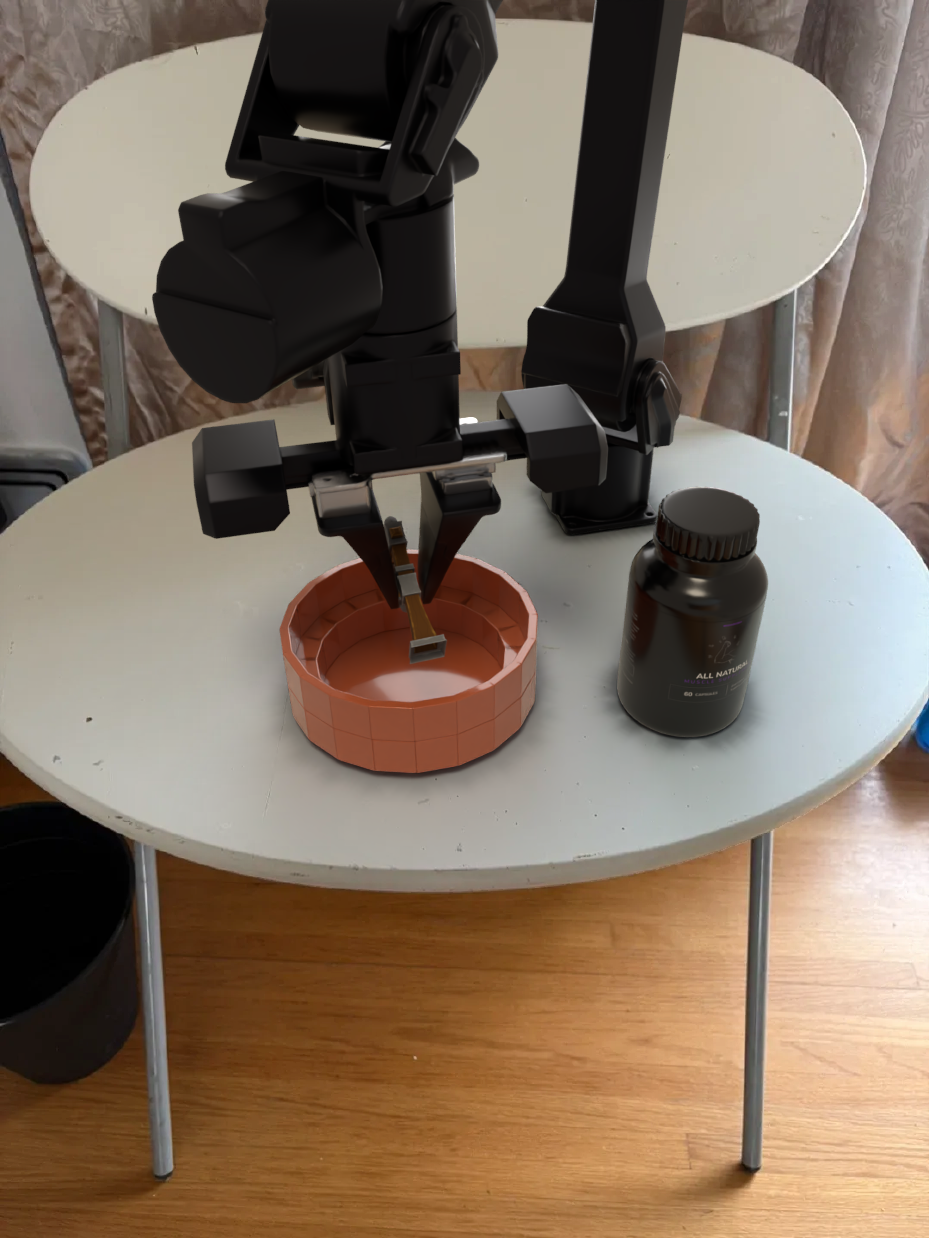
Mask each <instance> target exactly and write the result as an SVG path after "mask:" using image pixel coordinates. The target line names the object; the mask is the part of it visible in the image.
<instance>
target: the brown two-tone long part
mask: <svg viewBox="0 0 929 1238" xmlns="http://www.w3.org/2000/svg"><path fill="white" fill-rule="evenodd" d="M383 525H384V530H385V534H386V538H387V543H388V547H389V551H390V556H391V560H392V565H393V569H394V573H395V578H396V582H397V586H398V591H399V607H398V608H401V610H402V611H403V612H406V613H407V614H408V619H409V624H410V629H411V634H412V640H413V641H410V647H409V658H410V664H413V663H418V662H422V661H427V660H432V659H436V658H441V657H445V650H446V643H447V640H446V639H445V637H444V634H442V635H438V636H437V635H436V633H435V631H434V629H433V628H432V626H431V623H430V621H429V619H428V617H427V614H426V612H425V610H424V608H423V605H422V602H421V591H420V589H419V586H418V582H417V579H416V572H415V573H414V571H415V568H414V566H413V563H412V564H410V561H409V557H408V554H407V549H408V540H407V538H406V534H405V531H404V527H403V520H397V518H396V517H395V516H393V515H388V516H387V517H386V518H385V519H384V521H383Z"/></svg>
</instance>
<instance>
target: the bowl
mask: <svg viewBox="0 0 929 1238" xmlns="http://www.w3.org/2000/svg"><path fill="white" fill-rule="evenodd" d="M406 550H407V554H408V557H409V561H410V564H412V563H413V566H414V568H415V571H414V573H415V572H416V579H417V582H418V586H419V581H418V549H412V548H407V549H406ZM421 602H422V599H421ZM422 605H423V608H424V610H425V612H426V614H427V617H428V619H429V621H430V623H431V626H432V628H433V629H434V631H435V633H436V635H437V636H438V635H442V634H444V637H445V639H446V640H447V643H446V650H445V657H441V658H436V659H432V660H427V661H422V662H418V663H413V664H410V658H409V647H410V641H413V640H412V634H411V629H410V624H409V619H408V614H407V613H406V612H403V611H402V610H401V608H397V609H391V608H390V606H389V605H388V603H387V601H386V599H385V597H384V596H383V594H382V592H381V590H380V588H379V587H378V585H377V583H376V581H375V579H374V578H373V576H372V574H371V572H370V570H369V569H368V567H367V566H366V564H365V563H364V562H363V561H362V559H361V558H360V557H358V558H355V559H352V560H348V561H346V562H343V563H341V564H337V565H335V566H333V567H332V568H330V569H328V570H327V571H324V572H323V573H322V574H320V575H319V576H317V577H314V579H312V580H310V581H309V582H307V583H306V584H305V586H304V587H303V588H302V589H301V590H300V591H299V592H298V593H297V595H296V596H294V598H292V600H290V601H289V603H288V604H287V608H286V610H285V612H284V615H283V618H282V620H281V623H280V626H279V637H280V644H281V651H282V657H283V664H284V670H285V676H286V682H287V686H288V695H289V700H290V707H291V713H292V717H293V719H294V720H295V722H296V724H298V726H299V728H300V729H301V730H302V731H303V734H304V735H305V736H306V738H307V739H308V741H310V742H311V743H312V744H314V745H315V746H317V747H319V748H320V749H322V750H323V751H324V752H326V753H327V754H329V755H331V756H332V757H333V758H335V759H337V760H338V761H341V762H345V763H347V764H351V765H354V766H356V767H361V768H364V769H367V770H370V771H374V772H375V771H376V772H391V773H406V774H409V773H410V774H416V773H417V774H419V773H425V772H431V771H436V770H442V769H443V770H444V769H448V768H453V767H459V766H462V765H464V764H466V763H469V762H471V761H473V760H476V759H478V758H480V757H482V756H484V755H486V754H490V753H491V752H494V751H495V750H496V749H497V748H499V747H500V746H501V745H502V744H503V743H504V742H506V741H507V740H508V739H510V737H512V736H513V735H514V734H515V733H516V732H517V731H519V730H520V729H521V727H522V725H523V724H524V722H525V721H526V718H527V716H528V715H529V713H530V711H531V710H532V707H533V706H534V704H535V702H536V688H537V687H536V685H537V684H536V683H537V662H538V661H537V660H538V631H539V630H538V629H539V628H538V627H539V626H538V625H539V613H538V612H537V610H536V607H535V605H534V603H533V601H532V598H531V597H530V594H529V592H528V591H527V589H526V588H525V587H523V586H522V585H521V584H520V583H519V582H518V581H517V580H515V579H514V578H513V577H512V576H511V575H510V574H509V573H508V572H506V571H505V570H502V569H501V568H498V567H496V566H494V565H492V564H490V563H489V562H485V561H484V560H482V559H479V558H477V557H473V556H468V555H465V554H460V553H457V554H456V555H455V557H454V559H453V561H452V562H451V565H450V567H449V568H448V570H447V572H446V574H445V576H444V578H443V580H442V582H441V584H440V586H439V588H438V590H437V592H436V594H435V596H434V598H433V600H432V602H431V603H430V604H423V602H422Z"/></svg>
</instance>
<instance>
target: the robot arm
mask: <svg viewBox="0 0 929 1238" xmlns="http://www.w3.org/2000/svg"><path fill="white" fill-rule="evenodd" d="M503 1H504V0H267V2H266V5H265V8H264V17H265V19H266V20H265V23H264V25H263V30H262V32H261V37H260V40H259V42H258V43H259V44H258V47H257V51H256V53H255V57H254V61H253V65H252V68H251V72H250V75H249V79H248V82H247V85H246V89H245V93H244V96H243V99H242V103H241V107H240V109H239V113H238V117H237V120H236V124H235V128H234V131H233V134H232V138H231V142H230V146H229V148H228V151H227V156H226V160H225V161H224V171H225V174H226V175H227V176H228V177H229V178H230V179H235V180H241V181H247V182H248V183H246V184H243V185H241V186H237V187H236V188H233V189H230V190H227V191H224V192H221V193H220V192H219V193H215V192H213V193H212V192H211V193H208V192H207V193H203V194H198V195H197V196H194V197H192V198H191V197H190V198H189V199H186V200H182V201H181V202H180V204H179V206H178V209H177V214H178V218H179V223H180V228H181V235H182V239H183V240H181V241H178V242H177V243H176V244H174V245H173V246H171V247H169V248H168V249H167V251H166V253H165V254H164V255H163V256H162V258H161V260H160V263H159V266H158V268H157V269H158V270H157V273H156V282H155V292H153V294H152V295H151V300H152V307H153V312H154V317H155V320H156V322H157V325H158V329H159V332H160V333H161V336H162V338H163V341H164V342H165V345H166V346H167V349H168V350H169V352H170V353H171V355H172V356H173V358H174V360H175V361H176V362H177V364H178V366H179V367H180V368H181V369H182V370H183V371H184V373H185V374H186V375H187V376H188V377H189V378H190V379H191V380H192V382H194V383H195V384H196V385H198V387H200V388H201V389H202V390H204V391H205V392H206V393H208V394H210V395H211V396H213V397H215V398H216V399H219V400H221V401H223V402H227V403H230V404H248V403H252V402H255V401H258V400H259V399H261V398H263V397H264V396H266V395H268V394H269V393H271V392H273V391H275V390H277V389H279V388H280V387H281V386H283V385H285V384H286V383H288V382H290V381H291V384H292V386H293V388H294V389H295V390H303V389H312V388H321V387H324V393H325V402H326V411H327V417H328V420H329V424H330V426H334V430H335V439H334V440H325V441H318V442H310V443H303V444H302V443H301V444H294V445H287V446H285V445H284V446H280V442H279V437H278V431H277V426H276V420H275V419H274V418H273V419H266V420H255V421H249V422H241V423H231V424H224V425H217V426H215V425H214V426H207V427H202V428H201V429H200V430H199V431H198V433H197V435H196V436H195V437H194V439H193V440H192V442H191V453H192V473H193V478H192V479H193V489H194V495H195V503H196V507H197V512H198V516H199V522H200V526H201V532H202V534H203V535H205V536H207V537H210V538H213V539H216V540H217V539H225V538H226V539H227V538H233V537H240V536H245V535H253V534H261V533H270V532H275V531H276V530H277V529H278V528H279V527H280V526H281V524H282V523H283V522H284V521H285V520H286V519H287V518H288V517H289V516H290V515H291V511H290V503H289V496H288V490H294V489H302V488H303V489H304V488H308V492H309V497H310V499H311V504H312V507H313V512H314V517H315V522H316V526H317V531H318V533H319V534H320V535H321V536H323V537H326V538H334V537H335V538H336V537H341V538H342V539H344V541H345V542H346V543H347V544H348V546H349V547H350V548H351V549H352V550H353V551H354V552H355V554H356V555H357V556H358V558H361V559H362V561H363V562H364V563H365V564H366V566H367V567H368V569H369V570H370V572H371V574H372V576H373V578H374V579H375V581H376V583H377V585H378V587H379V588H380V590H381V592H382V594H383V596H384V597H385V599H386V601H387V603H388V605H389V606H390V608H391V609H397V608H398V607H399V591H398V586H397V582H396V578H395V573H394V569H393V565H392V560H391V556H390V551H389V547H388V543H387V538H386V534H385V530H384V521H383V519H382V515H381V514H382V513H381V512H380V508H379V504H378V502H377V498H376V495H375V491H374V489H373V488H374V487H373V481H374V480H379V479H387V478H394V477H402V476H409V475H410V476H411V475H417V474H419V482H420V511H419V512H420V513H419V533H418V548H417V550H418V581H419V589H420V591H421V599H422V602H423V604H430V603H431V602H432V600H433V598H434V596H435V594H436V592H437V590H438V588H439V586H440V584H441V582H442V580H443V578H444V576H445V574H446V572H447V570H448V568H449V567H450V565H451V562H452V561H453V559H454V557H455V555H456V554H458V552H459V551H460V549H461V548H462V547H463V545H464V544H465V542H466V541H467V539H468V538H469V536H470V535H471V534H472V532H473V531H474V529H475V528H476V527H477V525H478V523H479V522H480V520H481V519H483V518H484V517H486V516H491V515H495V514H497V513H499V512H500V510H501V509H502V498H501V496H500V493H499V492H498V491H497V487H496V486H495V484H494V482H493V474H495V473H496V470H497V469H496V467H497V466H496V464H501V463H504V462H505V463H506V461H507V462H508V461H515V460H521V459H523V460H524V459H526V476H527V478H528V481H529V482H530V483H532V484H533V485H534V486H535V487H537V488H538V489H540V490H541V497H542V498H543V500H544V502H545V504H546V507H548V509H549V511H550V513H551V514H553V515H554V516H555V518H556V520H557V521H558V523H559V524H560V526H561V528H562V530H563V531H564V533H565V534H568V535H578V534H586V533H593V532H599V531H605V530H607V531H608V530H612V529H622V528H628V527H637V526H641V525H642V526H643V525H648V524H649V525H650V524H655V523H656V522H657V516H658V512H656V511H655V509H654V507H653V506H652V505H651V503H650V502H649V499H650V488H651V477H652V468H653V461H654V460H653V459H654V451H655V448H661V447H669V446H671V445H672V443H673V442H674V435H675V427H676V425H677V421H678V420H679V417H680V415H681V412H680V411H681V410H680V408H681V403H682V399H683V394H682V392H681V390H680V389H679V387H678V385H677V383H676V381H675V380H674V378H673V376H672V374H671V372H670V371H669V369H668V367H667V365H666V364H665V363H664V351H665V341H666V327H667V326H666V323H665V321H664V318H663V316H662V314H661V311H660V309H659V306H658V304H657V301H656V299H655V297H654V294H653V292H652V289H651V287H650V284H649V282H648V269H649V263H650V258H651V257H650V256H651V250H652V244H653V235H654V230H655V222H656V216H657V208H658V202H659V195H660V188H661V184H662V183H661V182H662V175H663V169H664V164H665V163H664V162H665V155H666V148H667V142H668V136H669V128H670V122H671V116H672V115H671V114H672V108H673V102H674V94H675V88H676V81H677V75H678V74H677V73H678V68H679V60H680V53H681V49H682V41H683V35H684V34H683V33H684V27H685V22H686V21H685V19H686V12H687V9H688V8H687V7H688V3H689V0H594V9H593V17H592V18H593V19H592V26H591V36H590V44H589V45H590V46H589V53H588V63H587V72H586V81H585V90H584V100H583V108H582V118H581V125H580V126H581V127H580V137H579V144H578V145H579V146H578V155H577V163H576V171H575V172H576V173H575V181H574V189H573V190H574V191H573V200H572V209H571V218H570V228H569V237H568V244H567V245H568V246H567V254H566V263H565V270H564V275H563V278H562V279H561V281H560V282H559V283H558V285H557V286H556V287H555V289H554V290H553V291H552V293H551V294H550V295H549V297H548V298H547V300H546V301H545V302H544V304H543V305H542V306H535V307H534V308H533V309H532V311H531V313H530V314H529V316H528V318H527V321H526V324H527V325H526V327H527V329H526V346H525V347H526V348H525V352H524V355H523V358H522V362H521V370H520V372H521V381H522V387H523V389H516V390H515V389H514V390H505V391H501V392H500V393H499V395H498V397H497V400H496V419H494V420H487V421H478V419H477V418H476V417H473V416H472V417H469V416H468V417H462V418H461V417H460V416H461V415H460V413H461V411H460V375H462V371H461V351H460V349H459V336H458V333H459V332H458V307H457V306H458V298H457V296H458V295H457V259H456V254H457V253H456V223H455V222H456V221H455V218H456V217H455V194H454V193H455V185H456V184H458V183H461V182H463V181H465V180H467V179H469V178H471V177H474V176H475V175H477V174H478V171H479V169H480V161H479V158H478V157H477V156H476V155H475V153H473V152H472V150H471V149H470V148H469V147H468V146H466V145H465V144H464V143H462V142H461V141H460V140H458V139H457V136H458V133H459V132H460V129H461V128H462V127H463V125H464V124H465V122H466V120H467V119H468V117H469V116H470V113H471V111H472V109H473V107H474V106H475V104H476V101H477V100H478V98H479V96H480V94H481V91H483V88H484V86H485V85H486V82H487V81H488V79H489V78H490V75H491V73H492V72H493V70H494V68H495V65H496V64H497V62H498V59H499V46H498V45H499V44H498V34H497V22H496V21H497V20H496V14H497V12H498V10H499V8H500V7H501V5H502V3H503ZM299 127H301V128H303V129H306V130H310V131H314V132H318V133H325V134H331V135H332V134H333V135H339V136H346V137H354V138H359V139H368V140H375V141H380V142H383V143H382V144H381V145H379V146H378V147H376V146H369V145H363V144H357V143H348V142H343V141H337V140H330V139H321V138H316V137H309V136H303V135H302V136H301V135H295V134H296V132H297V130H298V128H299Z"/></svg>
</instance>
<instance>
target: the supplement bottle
mask: <svg viewBox="0 0 929 1238" xmlns="http://www.w3.org/2000/svg"><path fill="white" fill-rule="evenodd" d="M760 516H761V515H760V513H759V511H758V508H757V507H756V506H755V504H754V503H752V502H751V501H750V500H749V499H748V498H745V497H744V496H743V495H742V494H737V493H736V492H735V491H730V490H727V489H724V488H718V487H715V486H714V487H710V486H693V487H690V486H687V487H685V488H678V489H677V490H672V491H671V492H670V493H667V494H666V495H665V497H663V498H661V502H659V504H658V509H657V520H656V522H655V523H654V528H653V534H652V538H651V539H649V540H648V541H647V542H645V543H644V544H643V545H642V546H641V547H640V548H639V549H638V551H637V552H636V553H635V555H634V557H633V558H632V561H631V564H630V569H629V574H628V575H629V576H628V583H627V592H626V600H625V608H624V618H623V625H622V626H623V627H622V636H621V642H620V643H621V644H620V651H619V661H618V671H617V679H616V680H617V681H616V688H617V689H616V691H617V695H618V698H619V701H620V703H621V705H622V706H623V708H624V709H625V711H626V712H627V713H628V714H629V715H630V716H631V717H632V718H633V719H634V720H635V721H637V722H638V723H639V724H641V725H643V726H644V727H646V728H648V729H649V730H651V731H652V730H653V731H655V732H657V733H660V734H663V735H667V736H672V737H680V738H698V737H699V738H700V737H705V736H708V735H712V734H715V733H717V732H719V731H721V730H724V729H725V728H727V727H728V726H730V725H731V724H732V723H733V722H734V721H735V720H736V719H737V718H738V716H739V714H740V712H741V711H742V708H743V705H744V701H745V697H746V692H747V688H748V685H749V679H750V675H751V671H752V670H751V669H752V666H753V661H754V656H755V652H756V647H757V642H758V637H759V633H760V628H761V624H762V619H763V616H764V615H763V614H764V609H765V605H766V600H767V596H768V590H769V576H768V571H767V569H766V566H765V565H764V563H763V561H762V559H761V558H760V557H759V556H758V554H757V553H756V550H757V547H758V546H757V545H758V534H759V529H760V523H761V521H760V520H761V519H760V518H761V517H760Z"/></svg>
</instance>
